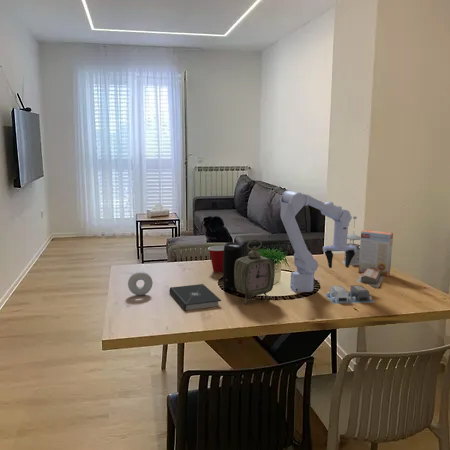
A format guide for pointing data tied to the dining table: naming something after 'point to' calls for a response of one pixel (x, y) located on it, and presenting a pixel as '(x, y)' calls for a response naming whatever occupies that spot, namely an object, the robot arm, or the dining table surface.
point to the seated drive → (339, 293)
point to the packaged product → (371, 277)
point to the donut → (140, 290)
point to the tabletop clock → (254, 274)
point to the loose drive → (359, 293)
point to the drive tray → (350, 299)
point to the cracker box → (375, 251)
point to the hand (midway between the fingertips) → (338, 267)
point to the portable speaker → (230, 263)
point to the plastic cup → (217, 257)
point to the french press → (353, 237)
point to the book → (194, 296)
